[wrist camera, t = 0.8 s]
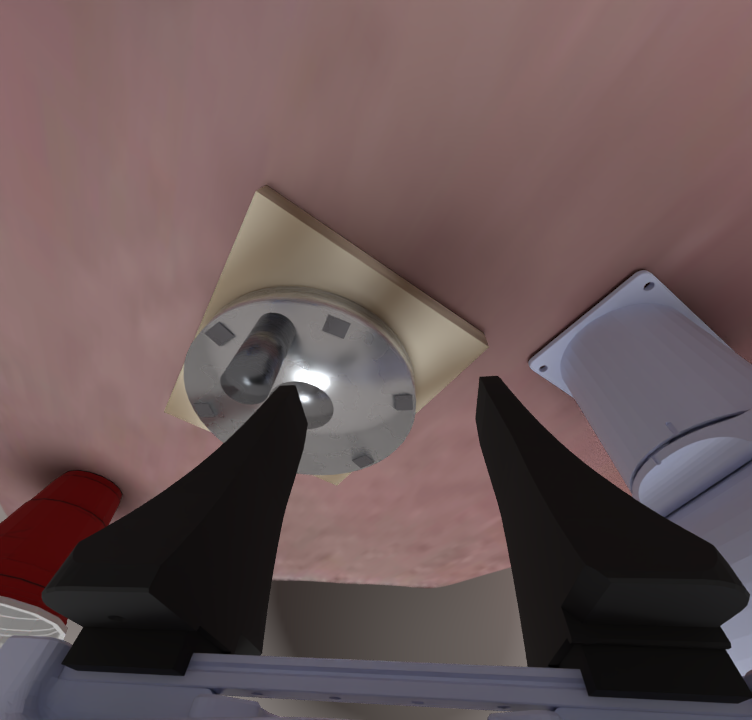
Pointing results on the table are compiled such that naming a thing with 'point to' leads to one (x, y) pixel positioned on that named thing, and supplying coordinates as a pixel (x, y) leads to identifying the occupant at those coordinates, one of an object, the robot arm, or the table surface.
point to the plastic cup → (47, 548)
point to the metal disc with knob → (306, 374)
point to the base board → (342, 277)
